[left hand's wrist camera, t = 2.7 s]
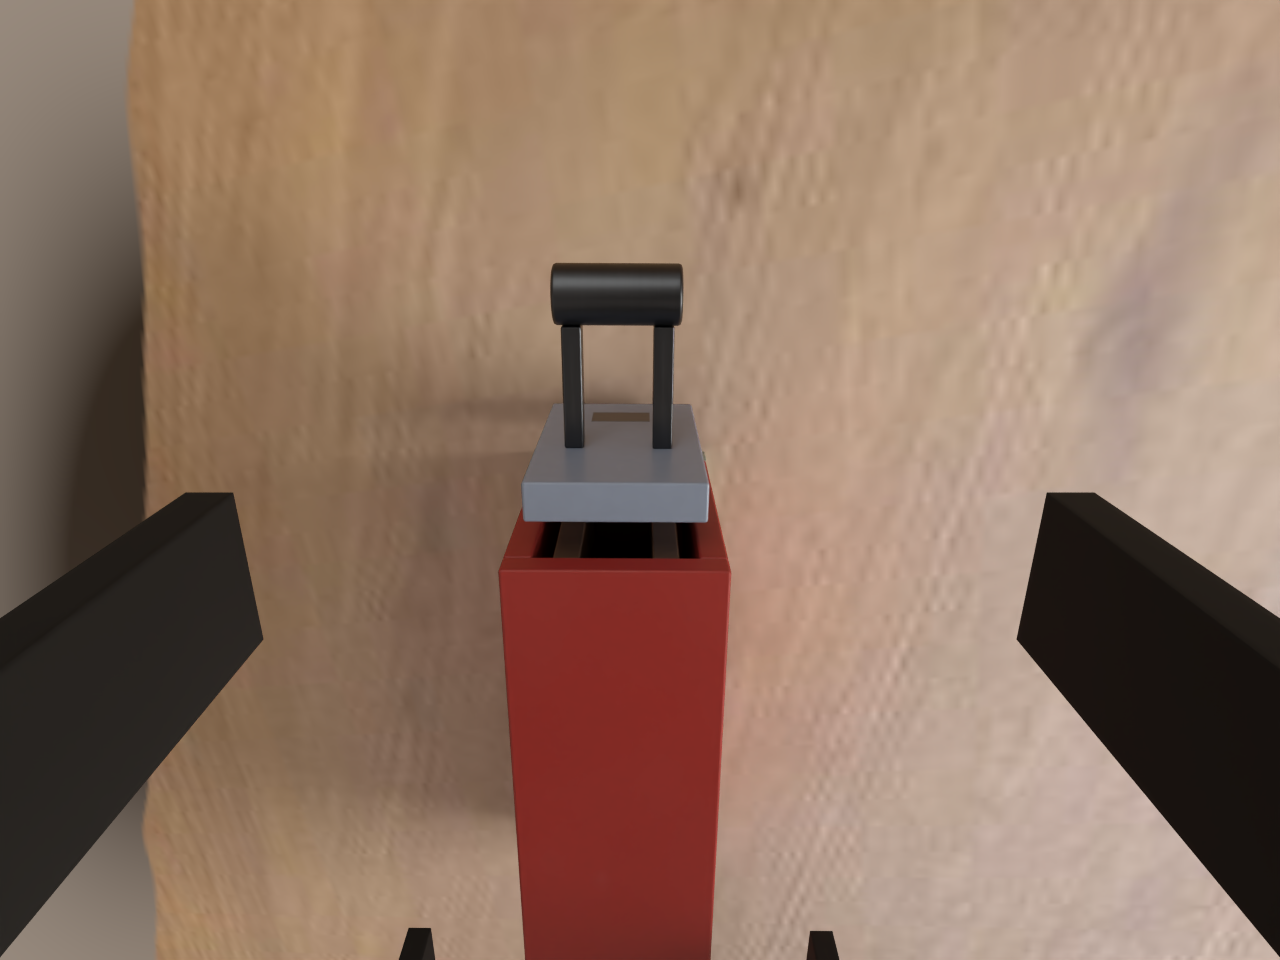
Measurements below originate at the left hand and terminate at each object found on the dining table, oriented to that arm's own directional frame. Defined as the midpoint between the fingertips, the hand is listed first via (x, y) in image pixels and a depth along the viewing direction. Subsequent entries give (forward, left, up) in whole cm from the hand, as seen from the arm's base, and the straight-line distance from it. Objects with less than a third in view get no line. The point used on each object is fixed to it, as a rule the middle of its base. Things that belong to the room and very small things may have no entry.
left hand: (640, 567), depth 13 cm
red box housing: (+13, +4, -17) cm, 22 cm away
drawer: (+8, +2, -16) cm, 18 cm away
